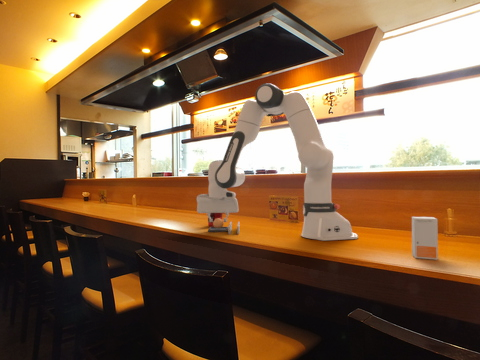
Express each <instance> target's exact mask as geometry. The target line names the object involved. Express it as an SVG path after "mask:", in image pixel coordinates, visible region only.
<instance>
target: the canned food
mask: <svg viewBox="0 0 480 360" xmlns="http://www.w3.org/2000/svg"><path fill="white" fill-rule="evenodd" d="M210 217H211V218H213V222H214V220H215V219H217V218H220V219H222V220H223V213H210ZM213 222H209V218H208V217H207V223H208V228H210V227H214V225H213Z"/></svg>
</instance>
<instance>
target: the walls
mask: <svg viewBox="0 0 480 360" xmlns="http://www.w3.org/2000/svg"><path fill="white" fill-rule="evenodd" d="M232 223H233V222H232V221H230V222H229V224H228V235H231V233H232V226H233V225H232ZM240 227H241V225H240V221H238V222H237V229H236V231H237V233H236V234H237V235H240Z"/></svg>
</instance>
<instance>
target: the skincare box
mask: <svg viewBox="0 0 480 360" xmlns="http://www.w3.org/2000/svg"><path fill="white" fill-rule="evenodd" d="M438 222H439V220H438V218H436V217H434V216H411V256H413V258H415V259H421V260H423V259H424V260H435V261H438V259H439V257H438V256H439V250H438V249H439V242H438V240H439V239H438V238H439V237H438V234H439V233H438V230H439V229H438V228H439V227H438V224H439V223H438Z"/></svg>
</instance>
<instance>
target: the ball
mask: <svg viewBox="0 0 480 360" xmlns="http://www.w3.org/2000/svg"><path fill="white" fill-rule="evenodd" d="M213 225H214V227H215V228H217V229H220V228H222V227H224V220H223V218H222V219H220V218H217V219H215V220H214V222H213Z"/></svg>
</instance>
